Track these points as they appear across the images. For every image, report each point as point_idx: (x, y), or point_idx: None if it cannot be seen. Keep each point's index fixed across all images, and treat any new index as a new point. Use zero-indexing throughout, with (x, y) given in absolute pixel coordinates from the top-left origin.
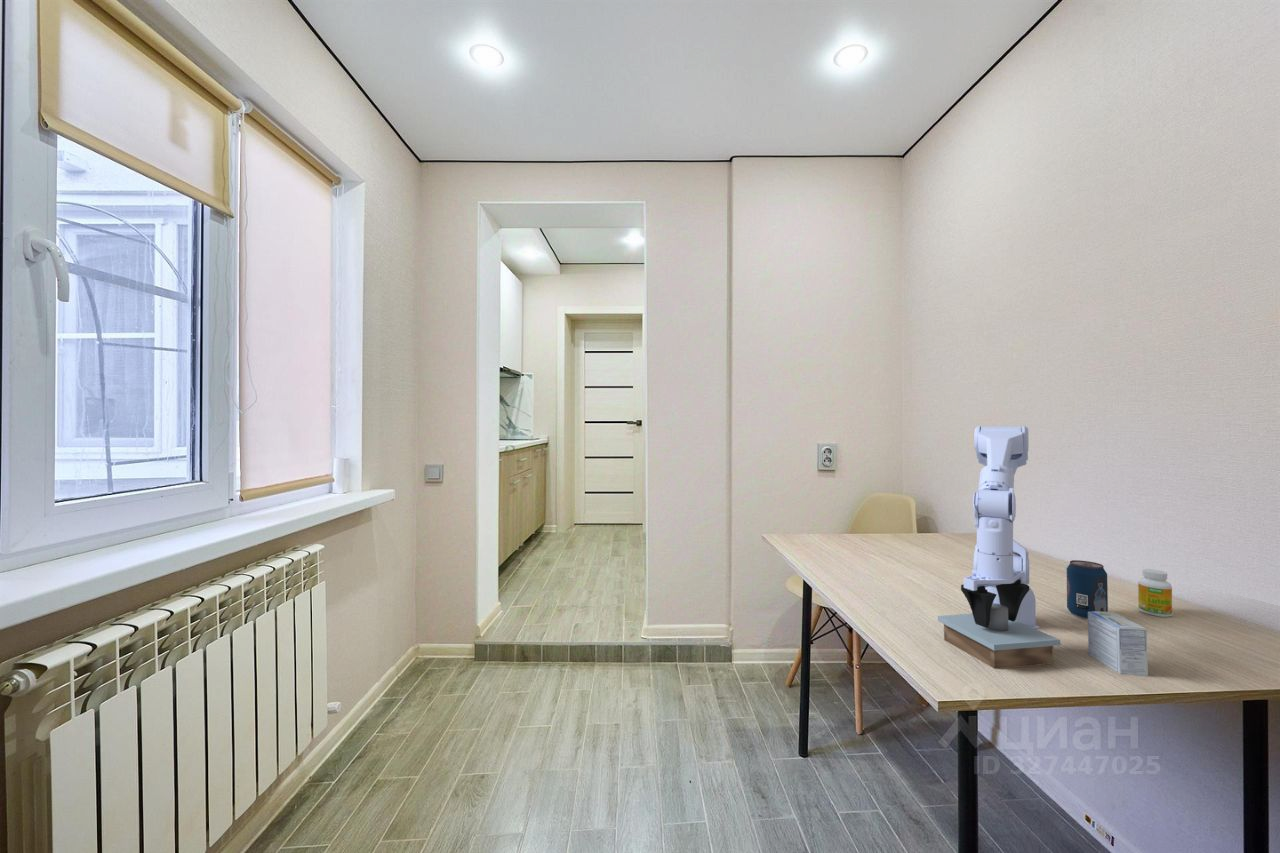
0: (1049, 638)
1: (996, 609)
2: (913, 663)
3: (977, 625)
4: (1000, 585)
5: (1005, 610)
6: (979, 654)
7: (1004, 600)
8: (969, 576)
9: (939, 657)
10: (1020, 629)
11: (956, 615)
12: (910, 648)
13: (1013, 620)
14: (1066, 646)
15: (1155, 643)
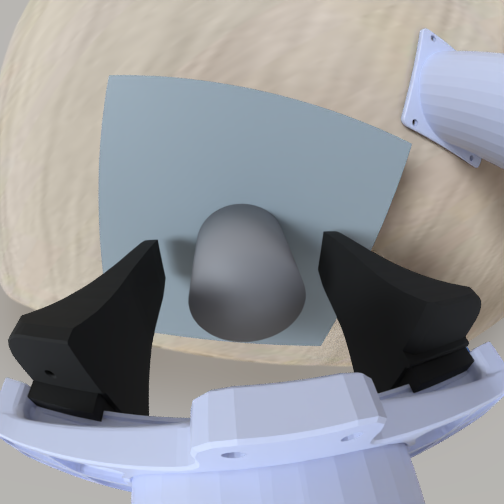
0: (304, 338)
1: (210, 329)
2: (4, 194)
3: (183, 211)
4: (403, 330)
5: (243, 341)
6: None
7: (359, 287)
8: (25, 447)
9: (63, 180)
10: (305, 282)
11: (201, 89)
12: (34, 119)
13: (320, 273)
14: (426, 238)
15: (500, 273)
